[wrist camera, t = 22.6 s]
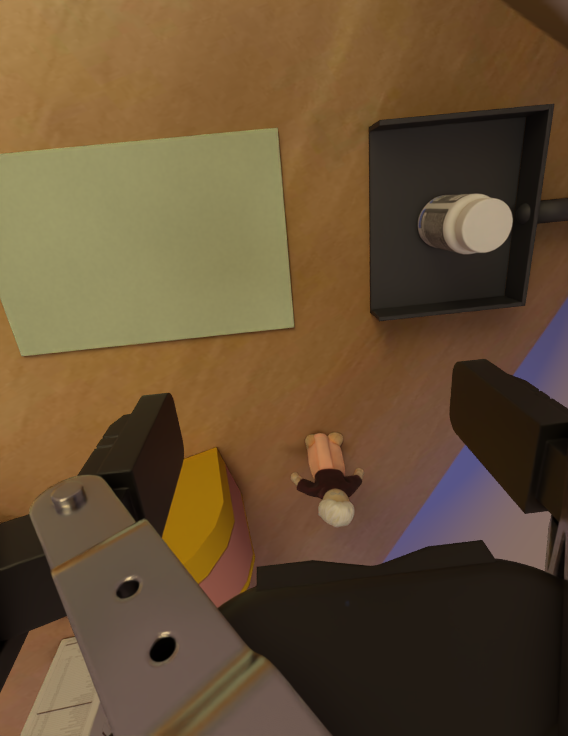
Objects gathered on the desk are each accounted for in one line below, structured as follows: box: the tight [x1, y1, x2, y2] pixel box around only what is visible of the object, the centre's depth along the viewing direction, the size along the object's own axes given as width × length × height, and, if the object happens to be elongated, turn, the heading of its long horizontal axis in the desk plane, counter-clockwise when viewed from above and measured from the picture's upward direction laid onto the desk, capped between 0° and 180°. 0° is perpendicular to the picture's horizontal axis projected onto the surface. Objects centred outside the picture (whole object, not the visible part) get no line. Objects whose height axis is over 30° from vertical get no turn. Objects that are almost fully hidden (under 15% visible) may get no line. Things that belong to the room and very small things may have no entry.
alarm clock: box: [162, 448, 255, 608], centre depth 40 cm, size 15×8×18 cm, turn 111°
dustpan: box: [369, 104, 568, 321], centre depth 37 cm, size 20×17×3 cm
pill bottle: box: [418, 194, 513, 254], centre depth 35 cm, size 5×5×8 cm
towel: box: [0, 128, 294, 356], centre depth 38 cm, size 28×18×1 cm, turn 95°
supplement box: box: [20, 637, 112, 736], centre depth 51 cm, size 10×9×17 cm
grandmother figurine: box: [291, 432, 364, 527], centre depth 42 cm, size 8×4×13 cm, turn 102°
